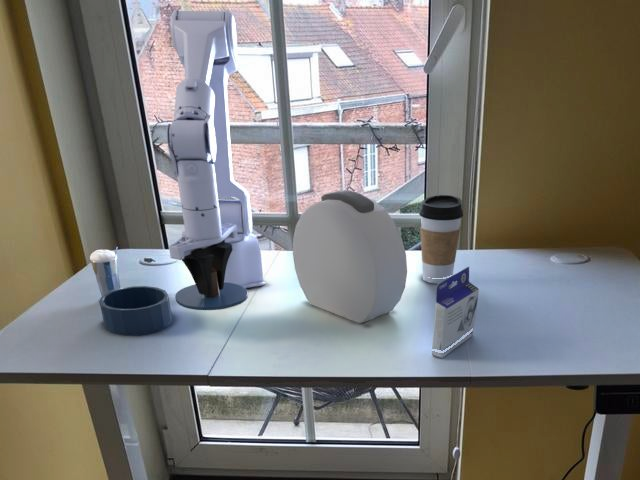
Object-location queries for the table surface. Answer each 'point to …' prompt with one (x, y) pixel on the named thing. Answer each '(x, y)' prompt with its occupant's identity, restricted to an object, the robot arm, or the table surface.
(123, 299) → the tin
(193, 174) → the robot arm
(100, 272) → the milkshake
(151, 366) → the table surface
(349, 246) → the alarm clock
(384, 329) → the table surface
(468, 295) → the ink box
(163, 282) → the table surface
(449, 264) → the coffee cup
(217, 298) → the lid
